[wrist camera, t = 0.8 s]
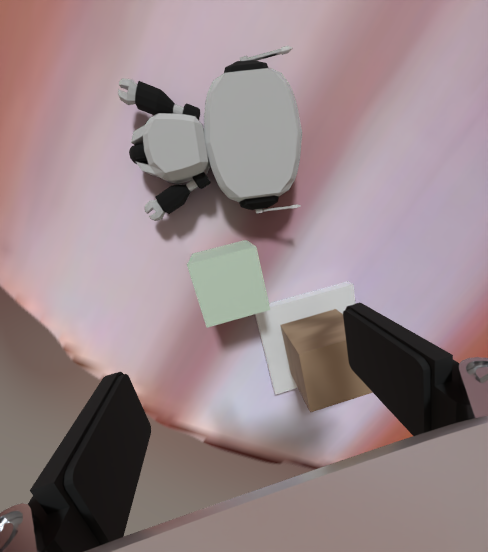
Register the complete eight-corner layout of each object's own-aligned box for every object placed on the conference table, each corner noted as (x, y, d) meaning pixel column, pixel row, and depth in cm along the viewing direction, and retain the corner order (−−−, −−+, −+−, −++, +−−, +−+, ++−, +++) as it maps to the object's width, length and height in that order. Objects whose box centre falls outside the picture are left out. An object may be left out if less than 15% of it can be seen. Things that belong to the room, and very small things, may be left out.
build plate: (347, 281, 28) (353, 284, 27) (356, 362, 31) (362, 368, 30) (253, 307, 27) (255, 311, 26) (273, 388, 31) (275, 394, 30)
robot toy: (156, 225, 24) (294, 208, 25) (140, 228, 20) (308, 206, 21) (126, 90, 21) (286, 73, 22) (99, 58, 17) (301, 37, 17)
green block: (245, 239, 25) (256, 246, 20) (257, 289, 27) (270, 309, 21) (192, 253, 25) (187, 264, 19) (207, 303, 27) (206, 327, 21)
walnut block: (335, 308, 28) (368, 333, 22) (342, 357, 29) (374, 391, 24) (280, 324, 27) (298, 354, 21) (290, 373, 29) (310, 412, 23)
